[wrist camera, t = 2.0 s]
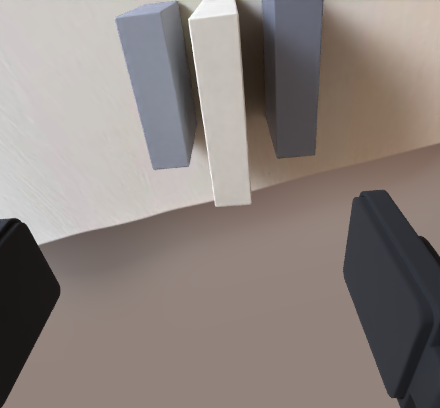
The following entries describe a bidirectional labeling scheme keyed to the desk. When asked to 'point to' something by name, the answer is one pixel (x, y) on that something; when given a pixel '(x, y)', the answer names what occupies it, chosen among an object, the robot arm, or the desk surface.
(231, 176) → the thin book
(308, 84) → the grey books
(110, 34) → the desk surface
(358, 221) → the robot arm
